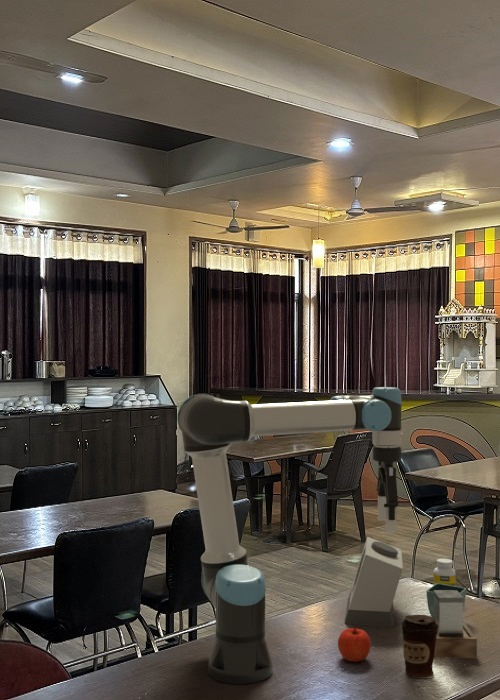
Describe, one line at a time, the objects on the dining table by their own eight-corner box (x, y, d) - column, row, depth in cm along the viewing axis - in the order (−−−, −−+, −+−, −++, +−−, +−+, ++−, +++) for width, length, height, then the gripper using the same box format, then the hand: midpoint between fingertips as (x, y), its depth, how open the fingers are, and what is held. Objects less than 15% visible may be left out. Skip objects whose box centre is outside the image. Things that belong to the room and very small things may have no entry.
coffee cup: (430, 685, 177) (430, 627, 177) (395, 676, 182) (395, 620, 181) (442, 671, 185) (443, 616, 184) (409, 663, 189) (409, 609, 189)
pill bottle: (434, 601, 235) (434, 563, 235) (432, 595, 241) (432, 557, 241) (456, 603, 234) (456, 564, 234) (454, 596, 240) (454, 558, 240)
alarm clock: (347, 600, 237) (347, 532, 237) (401, 603, 234) (401, 534, 234) (344, 623, 216) (344, 550, 216) (402, 627, 214) (402, 552, 214)
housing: (463, 638, 195) (463, 597, 195) (439, 638, 195) (439, 597, 195) (456, 629, 201) (457, 590, 201) (433, 629, 201) (433, 590, 201)
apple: (350, 650, 197) (350, 618, 197) (377, 659, 192) (377, 626, 192) (330, 659, 192) (330, 626, 192) (357, 668, 186) (357, 635, 186)
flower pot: (467, 619, 219) (467, 587, 219) (457, 629, 212) (457, 596, 212) (436, 614, 224) (436, 582, 224) (425, 623, 217) (425, 590, 217)
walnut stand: (431, 658, 192) (431, 638, 192) (422, 641, 203) (422, 622, 203) (476, 658, 192) (476, 638, 192) (465, 641, 203) (465, 622, 203)
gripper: (409, 452, 195) (409, 537, 195) (393, 440, 220) (393, 515, 220) (379, 452, 195) (379, 537, 195) (366, 440, 220) (366, 515, 220)
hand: (386, 526), depth 208 cm, fingers open, 13 cm apart
